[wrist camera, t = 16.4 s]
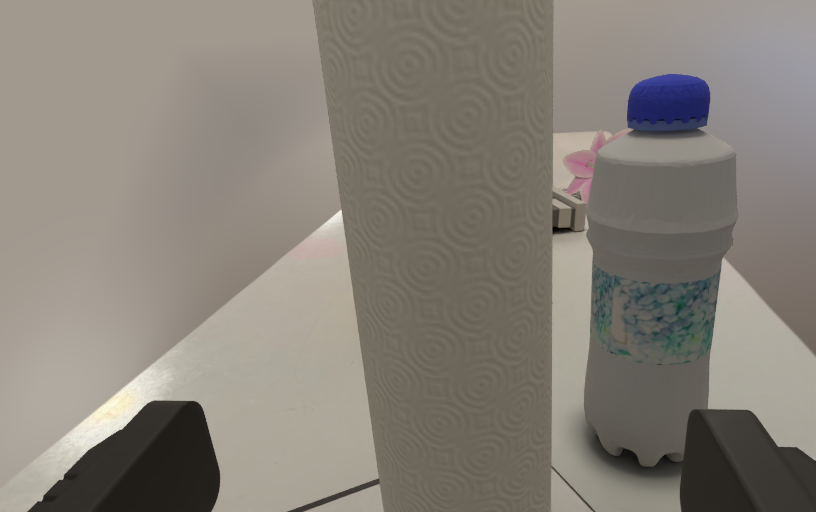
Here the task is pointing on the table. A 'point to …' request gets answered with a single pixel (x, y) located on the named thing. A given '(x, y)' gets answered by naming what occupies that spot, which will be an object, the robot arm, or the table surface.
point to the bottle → (656, 268)
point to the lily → (586, 164)
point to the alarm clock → (567, 211)
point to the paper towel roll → (449, 240)
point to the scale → (364, 505)
